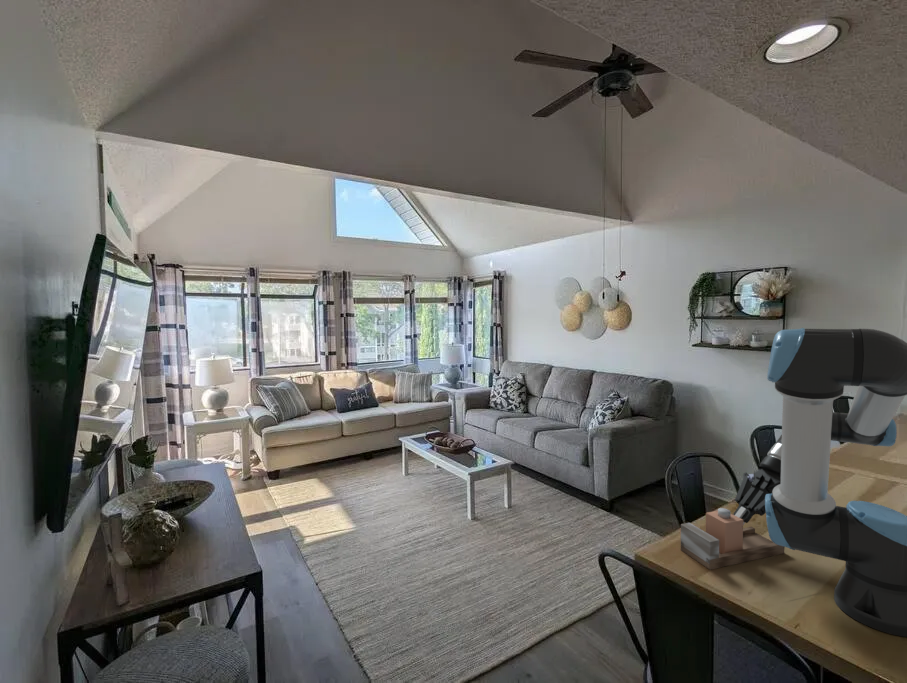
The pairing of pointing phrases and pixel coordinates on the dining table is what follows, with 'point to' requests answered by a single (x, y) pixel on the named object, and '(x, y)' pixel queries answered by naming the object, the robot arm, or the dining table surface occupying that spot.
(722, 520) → the block
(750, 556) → the track
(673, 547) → the dining table surface
